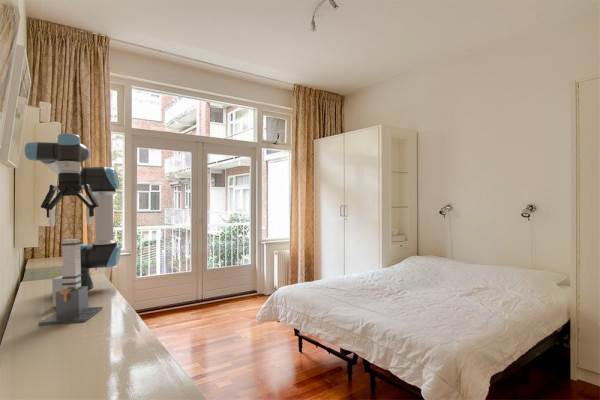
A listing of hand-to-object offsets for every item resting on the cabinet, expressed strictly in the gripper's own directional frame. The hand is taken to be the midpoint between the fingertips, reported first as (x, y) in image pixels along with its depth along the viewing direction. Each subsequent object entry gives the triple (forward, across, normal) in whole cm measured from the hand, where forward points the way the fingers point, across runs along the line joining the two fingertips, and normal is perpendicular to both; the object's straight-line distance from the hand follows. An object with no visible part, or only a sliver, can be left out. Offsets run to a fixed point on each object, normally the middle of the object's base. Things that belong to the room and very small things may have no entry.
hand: (70, 225), depth 138 cm
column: (+27, +1, -2) cm, 28 cm away
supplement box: (+37, -10, +17) cm, 42 cm away
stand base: (+36, +1, -2) cm, 36 cm away
